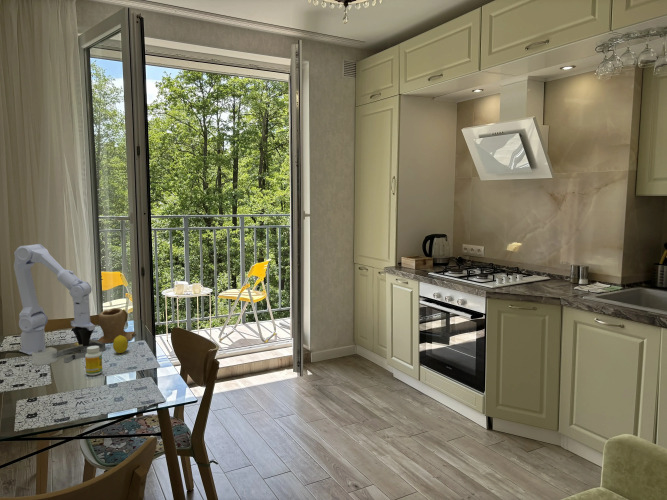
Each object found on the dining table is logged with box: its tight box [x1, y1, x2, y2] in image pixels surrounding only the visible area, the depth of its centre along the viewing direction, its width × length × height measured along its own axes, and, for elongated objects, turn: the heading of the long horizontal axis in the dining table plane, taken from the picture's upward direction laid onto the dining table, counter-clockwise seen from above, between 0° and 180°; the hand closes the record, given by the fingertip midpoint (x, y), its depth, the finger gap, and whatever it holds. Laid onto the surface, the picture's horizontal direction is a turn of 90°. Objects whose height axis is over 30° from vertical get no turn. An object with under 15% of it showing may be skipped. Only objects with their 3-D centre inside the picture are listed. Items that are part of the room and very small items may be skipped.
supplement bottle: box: [84, 346, 103, 376], centre depth 173 cm, size 5×5×10 cm
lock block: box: [31, 346, 58, 367], centre depth 185 cm, size 4×7×5 cm, turn 147°
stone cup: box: [97, 307, 136, 345], centre depth 211 cm, size 15×12×15 cm
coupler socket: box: [57, 338, 107, 364], centre depth 195 cm, size 13×17×4 cm
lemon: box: [112, 335, 129, 354], centre depth 195 cm, size 6×6×8 cm
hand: (83, 344), depth 196 cm, fingers open, 3 cm apart
